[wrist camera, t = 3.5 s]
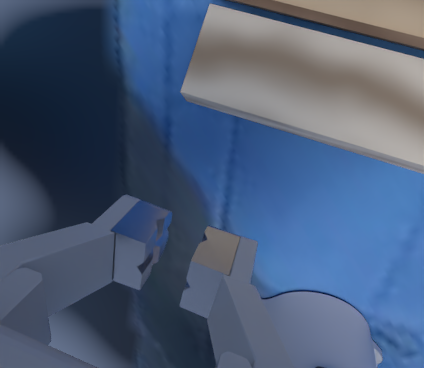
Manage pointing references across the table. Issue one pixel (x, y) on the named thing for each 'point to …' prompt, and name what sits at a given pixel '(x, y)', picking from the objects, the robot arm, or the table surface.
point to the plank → (310, 85)
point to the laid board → (357, 16)
